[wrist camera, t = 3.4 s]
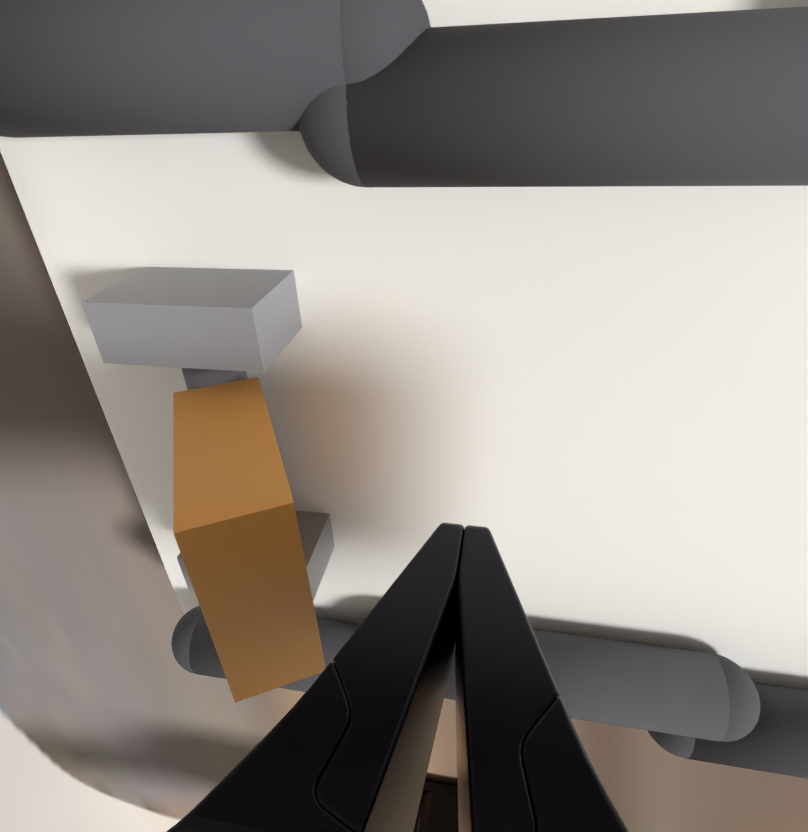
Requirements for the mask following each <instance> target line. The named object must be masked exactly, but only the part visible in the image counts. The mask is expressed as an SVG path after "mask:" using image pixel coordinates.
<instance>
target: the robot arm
mask: <svg viewBox="0 0 808 832" xmlns="http://www.w3.org/2000/svg"><path fill="white" fill-rule="evenodd" d="M455 640H456V641H455ZM454 647H455V687H456V733H457V779H458V787H455V786H449V785H444V784H439V783H433V782H428V781H425V778H426V774H427V769H428V765H429V761H430V756H431V752H432V747H433V743H434V739H435V734H436V730H437V725H438V721H439V717H440V712H441V708H442V704H443V699H444V695H445V690H446V686H447V682H448V677H449V673H450V668H451V664H452V659H453V654H454ZM559 696H560V694H559V691H558V689H557V687H556V684H555V682H554V680H553V677H552V675H551V672H550V670H549V668H548V665H547V663H546V661H545V658H544V656H543V654H542V651H541V649H540V647H539V644H538V642H537V640H536V637H535V635H534V632H533V630H532V628H531V625H530V623H529V621H528V618H527V616H526V614H525V611H524V609H523V607H522V604H521V602H520V600H519V597H518V595H517V592H516V590H515V588H514V585H513V583H512V581H511V578H510V576H509V574H508V571H507V569H506V567H505V564H504V562H503V560H502V557H501V555H500V552H499V550H498V548H497V545H496V543H495V541H494V538H493V536H492V534H491V531H490V530H489V528H487V527H482V526H473V525H468V526H466V527H465V529H464V526H463V525H461V524H454V523H441V524H440V525H439V526H438V527H437V528H436V530H435V531H434V532H433V533H432V535H431V536H430V537H429V538H428V540H427V541H426V542H425V544H424V545H423V546H422V547H421V549H420V550H419V551H418V552H417V554H416V555H415V556H414V557H413V559H412V560H411V561H410V562H409V564H408V565H407V566H406V568H405V569H404V570H403V571H402V573H401V574H400V575H399V576H398V578H397V579H396V580H395V581H394V583H393V584H392V585H391V586H390V588H389V589H388V590H387V591H386V593H385V594H384V595H383V597H382V598H381V599H380V600H379V602H378V603H377V604H376V605H375V607H374V608H373V609H372V610H371V612H370V613H369V614H368V615H367V617H366V618H365V619H364V620H363V622H362V623H361V624H360V626H359V627H358V628H357V629H356V631H355V632H354V633H353V634H352V636H351V637H350V638H349V639H348V641H347V642H346V643H345V644H344V646H343V647H342V648H341V650H340V651H339V652H338V653H337V655H336V656H335V657H334V658H333V663H332V662H331V663H329V664H328V666H327V667H326V668H325V669H324V671H323V672H322V673H321V674H320V676H319V677H318V678H317V679H316V681H315V682H314V683H313V684H312V685H311V687H310V688H309V689H308V690H307V691H306V693H305V694H304V695H303V696H302V697H301V699H300V700H299V701H298V702H297V703H296V704H295V706H294V707H293V708H292V709H291V710H290V711H289V712H288V713H287V714H286V715H285V716H284V717H283V718H282V720H281V721H280V722H279V723H278V724H277V725H276V726H275V727H274V728H273V729H272V730H271V731H270V732H269V733H268V734H267V735H266V736H265V737H264V738H263V739H262V740H261V741H260V742H259V743H258V744H257V745H256V746H255V747H254V748H253V749H252V750H251V752H250V753H249V754H248V755H247V756H246V757H245V758H244V759H243V760H242V761H241V762H240V763H239V764H238V765H237V766H236V767H235V768H234V769H233V770H232V771H231V772H230V773H229V774H228V775H227V776H226V777H225V778H224V779H223V780H222V781H221V782H220V783H219V784H218V785H217V786H216V787H215V788H214V789H213V790H212V791H211V792H210V793H209V794H208V795H207V796H206V797H205V798H204V799H203V800H202V801H201V802H200V803H199V804H198V805H197V806H196V807H195V808H194V809H193V810H192V811H191V812H190V813H188V814H187V815H186V816H185V817H184V818H183V819H182V820H180V821H179V822H178V823H177V824H176V825H175V826H173V827H172V828H171V829H169V830H168V831H167V832H628V830H627V828H626V826H625V825H624V823H623V821H622V819H621V817H620V816H619V814H618V812H617V810H616V809H615V807H614V805H613V803H612V801H611V800H610V798H609V796H608V794H607V792H606V790H605V788H604V787H603V785H602V783H601V781H600V779H599V777H598V775H597V773H596V771H595V770H594V768H593V766H592V764H591V762H590V760H589V758H588V756H587V754H586V752H585V750H584V747H583V745H582V743H581V741H580V739H579V737H578V734H577V732H576V730H575V728H574V726H573V724H572V721H571V719H570V717H569V714H568V712H567V710H566V707H565V705H564V702H563V700H562V699H561V698H559Z"/></svg>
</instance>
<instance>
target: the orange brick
mask: <svg viewBox="0 0 808 832" xmlns="http://www.w3.org/2000/svg"><path fill="white" fill-rule="evenodd" d="M182 372H183V376H184V379H185V383H186V386H187V390H185V391H180V392H175V393H173V534H174V536H175V539H176V542H177V545H178V547H179V550H180V553H181V556H182V558H183V561H184V564H185V567H186V569H187V572H188V575H189V577H190V580H191V583H192V586H193V588H194V591H195V594H196V597H197V599H198V602H199V605H200V608H201V610H202V613H203V616H204V618H205V621H206V624H207V627H208V629H209V632H210V635H211V638H212V640H213V643H214V646H215V649H216V651H217V654H218V657H219V660H220V662H221V665H222V668H223V670H224V673H225V676H226V679H227V681H228V684H229V687H230V690H231V692H232V695H233V698H234V701H235V702H238V701H240V700H243V699H246V698H249V697H252V696H255V695H258V694H261V693H264V692H267V691H269V690H272V689H275V688H278V687H281V686H284V685H287V684H290V683H293V682H296V681H299V680H301V679H304V678H307V677H310V676H313V675H316V674H319V673H322V672H323V671H324V669H325V668H326V666H325V661H324V656H323V651H322V646H321V640H320V635H319V630H318V625H317V620H316V614H315V609H314V604H313V599H312V594H311V588H310V583H309V578H308V573H307V568H306V562H305V557H304V552H303V547H302V542H301V536H300V531H299V526H298V521H297V516H296V510H295V505H294V501H293V497H292V494H291V490H290V487H289V483H288V480H287V476H286V473H285V469H284V465H283V462H282V458H281V455H280V451H279V448H278V444H277V441H276V437H275V434H274V430H273V427H272V423H271V419H270V416H269V412H268V409H267V405H266V402H265V398H264V395H263V391H262V388H261V384H260V381H259V377H254V378H249V379H248V377H247V373H246V371H229V370H211V369H194V368H182Z"/></svg>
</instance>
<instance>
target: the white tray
mask: <svg viewBox="0 0 808 832" xmlns="http://www.w3.org/2000/svg"><path fill="white" fill-rule="evenodd" d="M422 1H423V4H424V6H425V8H426V11H427V13H428V17H429V21H430V26H431V27H446V26H464V25H482V24H500V23H518V22H536V21H554V20H572V19H590V18H609V17H627V16H645V15H663V14H681V13H699V12H717V11H735V10H753V9H771V8H789V7H807V6H808V0H422ZM0 152H1V154H2V157H3V159H4V162H5V164H6V167H7V170H8V172H9V175H10V177H11V180H12V182H13V185H14V187H15V190H16V192H17V195H18V197H19V200H20V202H21V205H22V207H23V210H24V213H25V215H26V218H27V220H28V223H29V225H30V228H31V230H32V233H33V235H34V238H35V240H36V243H37V245H38V248H39V250H40V253H41V255H42V258H43V261H44V263H45V266H46V268H47V271H48V273H49V276H50V278H51V281H52V283H53V286H54V288H55V291H56V293H57V296H58V298H59V301H60V303H61V306H62V309H63V311H64V314H65V316H66V319H67V321H68V324H69V326H70V329H71V331H72V334H73V336H74V339H75V341H76V344H77V346H78V349H79V352H80V354H81V357H82V359H83V362H84V364H85V367H86V369H87V372H88V374H89V377H90V379H91V382H92V384H93V387H94V389H95V392H96V394H97V397H98V400H99V402H100V405H101V407H102V410H103V412H104V415H105V417H106V420H107V422H108V425H109V427H110V430H111V432H112V435H113V437H114V440H115V442H116V445H117V448H118V450H119V453H120V455H121V458H122V460H123V463H124V465H125V468H126V470H127V473H128V475H129V478H130V480H131V483H132V485H133V488H134V491H135V493H136V496H137V498H138V501H139V503H140V506H141V508H142V511H143V513H144V516H145V518H146V521H147V523H148V526H149V528H150V531H151V533H152V536H153V539H154V541H155V544H156V546H157V549H158V551H159V554H160V556H161V559H162V561H163V564H164V566H165V569H166V571H167V574H168V576H169V579H170V581H171V584H172V587H173V589H174V592H175V594H176V597H177V599H178V602H179V604H180V607H181V609H182V612H183V614H184V615H185V614H186V613H187V612H188V611H190V610H191V609H192V608H195V607H197V606H199V602H198V599H197V597H196V594H195V591H194V588H193V586H192V583H191V580H190V577H189V575H188V572H187V569H186V567H185V564H184V561H183V558H182V556H181V553H180V550H179V547H178V545H177V542H176V539H175V536H174V534H173V393H175V392H180V391H185V390H187V386H186V383H185V379H184V376H183V372H182V368H194V369H211V370H229V371H246V373H247V377H248V379H249V378H254V377H259V381H260V384H261V388H262V391H263V395H264V398H265V402H266V405H267V409H268V412H269V416H270V419H271V423H272V427H273V430H274V434H275V437H276V441H277V444H278V448H279V451H280V455H281V458H282V462H283V465H284V469H285V473H286V476H287V480H288V483H289V487H290V490H291V494H292V497H293V501H294V505H295V510H296V516H297V521H298V526H299V531H300V536H301V542H302V547H303V552H304V557H305V562H306V568H307V573H308V578H309V583H310V588H311V594H312V599H313V604H314V609H315V614H316V617H317V618H324V619H331V620H338V621H345V622H353V623H360V624H361V623H362V622H363V620H364V619H365V618H366V617H367V615H368V614H369V613H370V612H371V610H372V609H373V608H374V607H375V605H376V604H377V603H378V602H379V600H380V599H381V598H382V597H383V595H384V594H385V593H386V591H387V590H388V589H389V588H390V586H391V585H392V584H393V583H394V581H395V580H396V579H397V578H398V576H399V575H400V574H401V573H402V571H403V570H404V569H405V568H406V566H407V565H408V564H409V562H410V561H411V560H412V559H413V557H414V556H415V555H416V554H417V552H418V551H419V550H420V549H421V547H422V546H423V545H424V544H425V542H426V541H427V540H428V538H429V537H430V536H431V535H432V533H433V532H434V531H435V530H436V528H437V527H438V526H439V525H440V524H441V523H454V524H461V525H463V526H464V529H465V527H466V526H468V525H473V526H482V527H487V528H489V530H490V531H491V534H492V536H493V538H494V541H495V543H496V545H497V548H498V550H499V552H500V555H501V557H502V560H503V562H504V564H505V567H506V569H507V571H508V574H509V576H510V578H511V581H512V583H513V585H514V588H515V590H516V592H517V595H518V597H519V600H520V602H521V604H522V607H523V609H524V611H525V614H526V616H527V618H528V621H529V623H530V625H531V628H532V629H536V630H544V631H551V632H559V633H566V634H574V635H581V636H589V637H596V638H604V639H612V640H619V641H627V642H634V643H642V644H649V645H657V646H664V647H672V648H679V649H687V650H694V651H702V652H709V653H714V654H718V655H721V656H724V657H726V658H728V659H730V660H732V661H733V662H735V663H736V664H738V665H739V666H740V667H741V668H742V669H743V670H744V671H745V672H746V673H747V674H748V675H749V677H750V678H751V680H752V681H753V683H759V684H766V685H773V686H780V687H788V688H795V689H802V690H808V186H605V187H372V188H366V187H357V186H353V185H350V184H346V183H343V182H341V181H339V180H338V179H336V178H334V177H332V176H331V175H329V174H328V173H327V172H326V171H325V170H323V169H322V168H321V167H320V166H319V165H318V164H317V163H316V161H315V160H314V158H313V157H312V156H311V154H310V153H309V151H308V150H307V148H306V145H305V143H304V141H303V138H302V136H301V133H300V131H283V132H240V133H197V134H154V135H111V136H68V137H25V138H13V137H2V136H0Z"/></svg>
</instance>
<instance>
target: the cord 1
mask: <svg viewBox="0 0 808 832" xmlns="http://www.w3.org/2000/svg"><path fill="white" fill-rule="evenodd" d="M283 131H300V133H301V136H302V138H303V141H304V143H305V145H306V148H307V150H308V151H309V153H310V154H311V156H312V157H313V158H314V160H315V161H316V163H317V164H318V165H319V166H320V167H321V168H322V169H323V170H325V171H326V172H327V173H328V174H329V175H331V176H332V177H334V178H336V179H338V180H339V181H341V182H343V183H346V184H350V185H353V186H357V187H366V188H372V187H605V186H808V6H807V7H789V8H771V9H753V10H735V11H717V12H699V13H681V14H663V15H645V16H627V17H609V18H590V19H572V20H554V21H536V22H518V23H500V24H482V25H464V26H446V27H431V26H430V21H429V17H428V13H427V11H426V8H425V6H424V4H423V1H422V0H0V136H2V137H13V138H25V137H68V136H111V135H154V134H197V133H240V132H283Z"/></svg>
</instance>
